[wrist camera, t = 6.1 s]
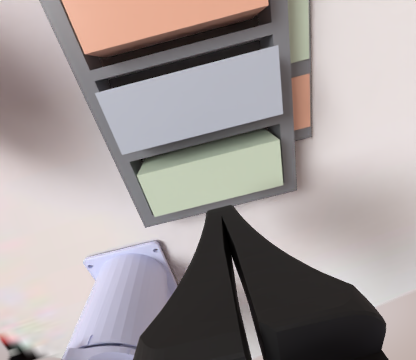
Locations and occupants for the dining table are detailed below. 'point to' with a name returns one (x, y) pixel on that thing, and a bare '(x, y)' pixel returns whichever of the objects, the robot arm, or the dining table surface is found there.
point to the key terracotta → (150, 21)
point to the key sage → (211, 172)
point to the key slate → (194, 100)
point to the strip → (300, 66)
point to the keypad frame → (130, 163)
